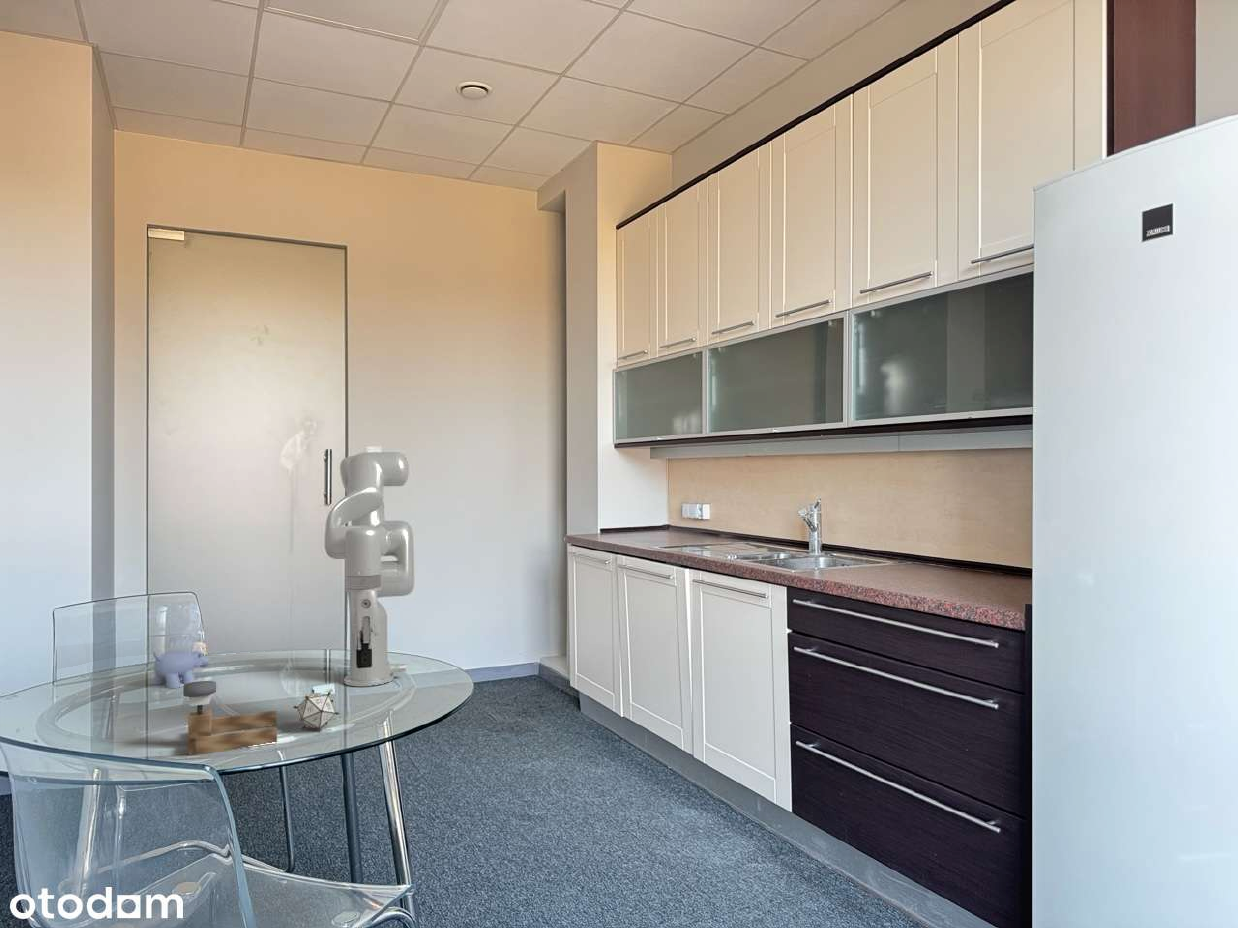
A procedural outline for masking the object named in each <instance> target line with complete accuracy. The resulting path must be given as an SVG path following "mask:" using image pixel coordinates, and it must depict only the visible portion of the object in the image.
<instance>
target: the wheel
mask: <svg viewBox="0 0 1238 928" xmlns="http://www.w3.org/2000/svg"><path fill="white" fill-rule="evenodd" d="M182 690H183V691H182V693H183V697H186V698H188V699H189V707H194V706H197V705H203V706H204V705H209V704H210V701H211V695H213V694H215V693H217V682H216V681H214V680H197V682H192V683H188V684H185V685H184V686H183V687H182Z"/></svg>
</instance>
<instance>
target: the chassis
mask: <svg viewBox="0 0 1238 928" xmlns="http://www.w3.org/2000/svg"><path fill="white" fill-rule="evenodd" d="M203 708H204V705H196V709H197V710H196V711H194V712H193V711H192V712H189V715H188V718H187V720H188V721H187V723H188V725H187V727H188V728H187V729H188V730H187V733H188V734H187V735H188V736H187V739H188V741H187V742H188V743H187V745H188V756H194V755H203V754H208V753H210V752H211V753H218V752H224V751H225V752H226V751H232V749H234V750H238V749H237V748H241V749H243V748H242V747H248V746H253V745H260V744H266V743H272V742H277V743H278V732H277V731H278V728H277V710H271V711H270V710H269V711H264V712H253V713H245V714H238V715H227V716H220V717H219V716H218V717H212V710H204V709H203ZM269 725H276V726H275V727H270V728H269V727H267V728H264V727H263V726H269ZM257 727H263V728H262V729H260V728H259V729H258V728H257ZM252 728H255V729H254V730H252ZM245 730H246V731H245ZM229 732H230V733H229Z"/></svg>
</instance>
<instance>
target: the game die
mask: <svg viewBox="0 0 1238 928" xmlns="http://www.w3.org/2000/svg"><path fill="white" fill-rule="evenodd" d="M330 695H331V691H329V692H327V693H320V692H315V689H313V688H312V689H311V694H310V695H309V696H308V695H305V696H304V698H305V699H304V700H302V702H301V703H300V704H298V706H297V705H294V706H293V708H294V709H297V712H298V715H299V716H300V718H299V719H298V721H299V722H302V723H303V726H302V728H306V727H308V728H313V729H314V728H315V729H318V732H320V731H321V732H322V728H323V726H324V725H325V724H327V725H328V722H329V721H330V720H331V719H332V718H333V717H334V716H335V715H337V716H338V715H340V714H341V713H340V712H339V711H337V712H336V709H335V707H334V705H333V703H334V699H331V698H330ZM302 728H301V729H302Z"/></svg>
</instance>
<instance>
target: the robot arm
mask: <svg viewBox="0 0 1238 928" xmlns="http://www.w3.org/2000/svg"><path fill="white" fill-rule="evenodd" d="M339 469H340V470H339V471H340V477H341V481H342V482H341V483H342V484H343V487H344V489H345V492H346V495H345V496H344V497H343V498H341V499H340V500H339V501H338V502H336V504H335V505H334V506H333V507H332V508H331V509H330V511H329V512H328V515H327V517H326V521H325V528H324V529H325V531H324V550H325V553H326V555H327V556H328V557H329V558H330V559H334V560H345V561H344V562H345V563H344V564H345V565H344V566H345V567H344V568H345V575H344V577H345V592H347V596H348V597H347V598H348V606H349V649H350V650H349V662H350V663H349V665H350V667H349V668H350V672H349V673H350V674H349V675H346V676H345V677H344V679H343V682H344V684H345V685H347V686H350V687H374V686H380V685H384V683H385V684H387V682H388V683H391V682H392V681H393V680H394V678H395V677H394V673H396V672H399V673H400V672H406V671H407V670H406V669H407V666H406V663H390V662H389V660H388V613H387V611H386V609H385V607H384V605H382V604H381V603H380V602H379V601H378V598H390V597H391V598H392V597H393V598H394V597H405V596H408V595H411V594H412V592H413V590H414V586H415V555H414V554H415V553H414V552H415V551H414V549H415V548H414V534H413V529H412V526H411V525H410V524H409V522H407V521H405V520H385V503H384V487H403V486H405V485H406V483H407V482H408V479H409V473H410V471H409V462H408V459H407V457H406V455H405V454H403V453H402V452H398V451H397V452H394V451H366V452H360V453H357V454H355V455H351V456H346V457H344V458H343V459H342V460H341V462H340V465H339ZM349 522H351V523H350V525H345V524H348V523H349ZM382 557H394V558H396V560H384V561H383V560H381V558H382ZM379 684H380V685H379ZM373 685H374V686H373Z"/></svg>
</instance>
